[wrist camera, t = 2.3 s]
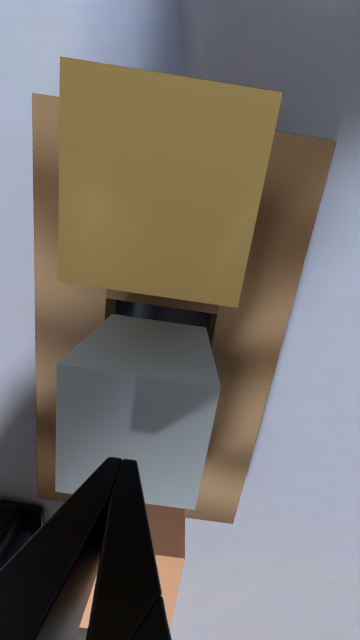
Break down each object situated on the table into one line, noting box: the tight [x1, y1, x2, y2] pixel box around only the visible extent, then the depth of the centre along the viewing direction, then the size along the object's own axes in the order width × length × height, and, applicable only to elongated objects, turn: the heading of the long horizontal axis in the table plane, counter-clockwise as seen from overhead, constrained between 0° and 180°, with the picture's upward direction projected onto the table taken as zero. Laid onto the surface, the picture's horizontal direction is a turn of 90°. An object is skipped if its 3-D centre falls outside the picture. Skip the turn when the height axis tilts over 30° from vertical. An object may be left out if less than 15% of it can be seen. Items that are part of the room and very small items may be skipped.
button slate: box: [55, 314, 221, 510], centre depth 11 cm, size 5×5×6 cm
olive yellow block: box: [58, 57, 283, 308], centre depth 9 cm, size 5×5×6 cm
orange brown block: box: [79, 504, 185, 630], centre depth 13 cm, size 5×5×6 cm
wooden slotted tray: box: [32, 93, 337, 524], centre depth 16 cm, size 24×14×2 cm, turn 172°
